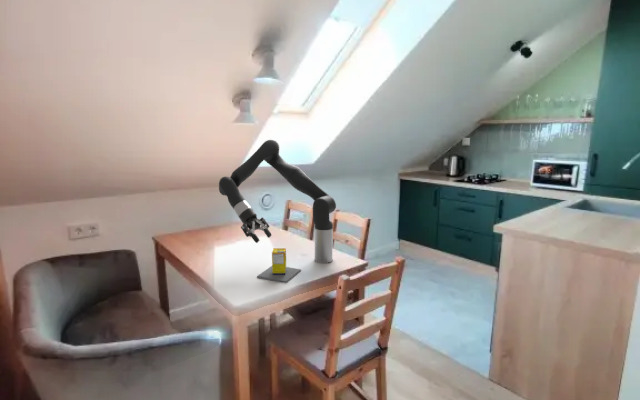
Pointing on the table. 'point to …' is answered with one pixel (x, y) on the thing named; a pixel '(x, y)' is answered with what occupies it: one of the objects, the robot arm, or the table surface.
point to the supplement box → (279, 261)
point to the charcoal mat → (280, 278)
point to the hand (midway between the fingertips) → (264, 239)
